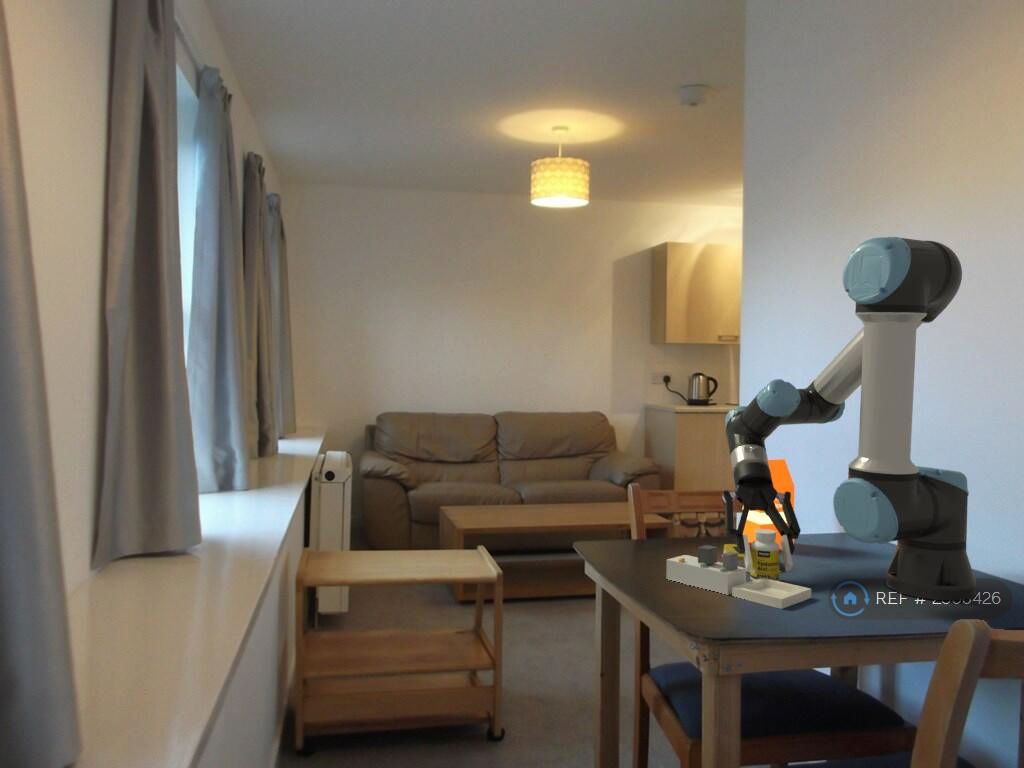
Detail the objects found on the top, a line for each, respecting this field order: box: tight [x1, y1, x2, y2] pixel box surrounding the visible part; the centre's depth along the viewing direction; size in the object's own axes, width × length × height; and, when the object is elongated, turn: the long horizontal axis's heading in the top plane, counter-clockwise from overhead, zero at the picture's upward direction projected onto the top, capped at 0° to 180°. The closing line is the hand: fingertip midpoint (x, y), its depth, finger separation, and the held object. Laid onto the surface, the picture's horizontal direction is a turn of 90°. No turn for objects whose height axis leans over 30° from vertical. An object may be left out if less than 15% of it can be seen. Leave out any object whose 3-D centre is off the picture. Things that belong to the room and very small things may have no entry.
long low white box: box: [666, 552, 747, 596], centre depth 162 cm, size 14×6×7 cm, turn 41°
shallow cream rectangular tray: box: [731, 578, 812, 610], centre depth 153 cm, size 10×10×2 cm
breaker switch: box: [697, 544, 718, 565], centre depth 161 cm, size 2×3×3 cm
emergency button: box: [721, 542, 781, 574], centre depth 178 cm, size 9×4×15 cm
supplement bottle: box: [749, 529, 781, 582], centre depth 164 cm, size 5×5×10 cm
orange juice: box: [742, 458, 796, 550], centre depth 194 cm, size 8×9×20 cm
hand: (769, 567), depth 161 cm, fingers open, 7 cm apart
